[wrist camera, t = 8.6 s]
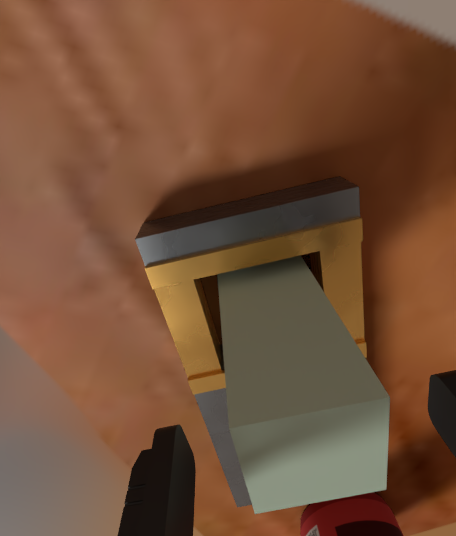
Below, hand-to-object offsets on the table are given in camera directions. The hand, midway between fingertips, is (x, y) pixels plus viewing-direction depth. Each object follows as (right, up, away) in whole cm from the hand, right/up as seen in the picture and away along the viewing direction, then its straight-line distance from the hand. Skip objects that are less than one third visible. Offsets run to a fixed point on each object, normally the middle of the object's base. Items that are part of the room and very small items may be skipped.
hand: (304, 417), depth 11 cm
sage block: (-1, +4, +6) cm, 7 cm away
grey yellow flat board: (0, -1, +9) cm, 9 cm away
